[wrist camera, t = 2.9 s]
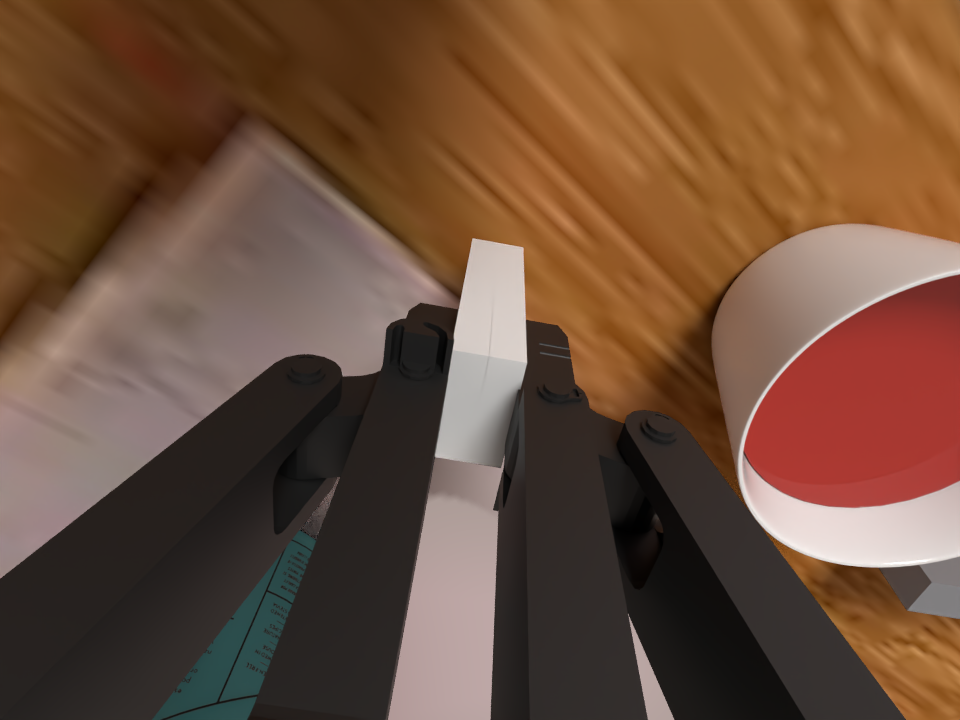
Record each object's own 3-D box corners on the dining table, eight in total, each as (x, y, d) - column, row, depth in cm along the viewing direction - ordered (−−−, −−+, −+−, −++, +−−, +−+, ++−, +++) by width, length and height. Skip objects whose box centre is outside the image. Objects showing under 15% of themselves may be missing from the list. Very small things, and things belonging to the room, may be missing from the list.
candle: (847, 456, 22) (956, 599, 16) (631, 387, 21) (672, 517, 15) (1034, 242, 17) (1270, 343, 12) (772, 141, 16) (900, 201, 11)
